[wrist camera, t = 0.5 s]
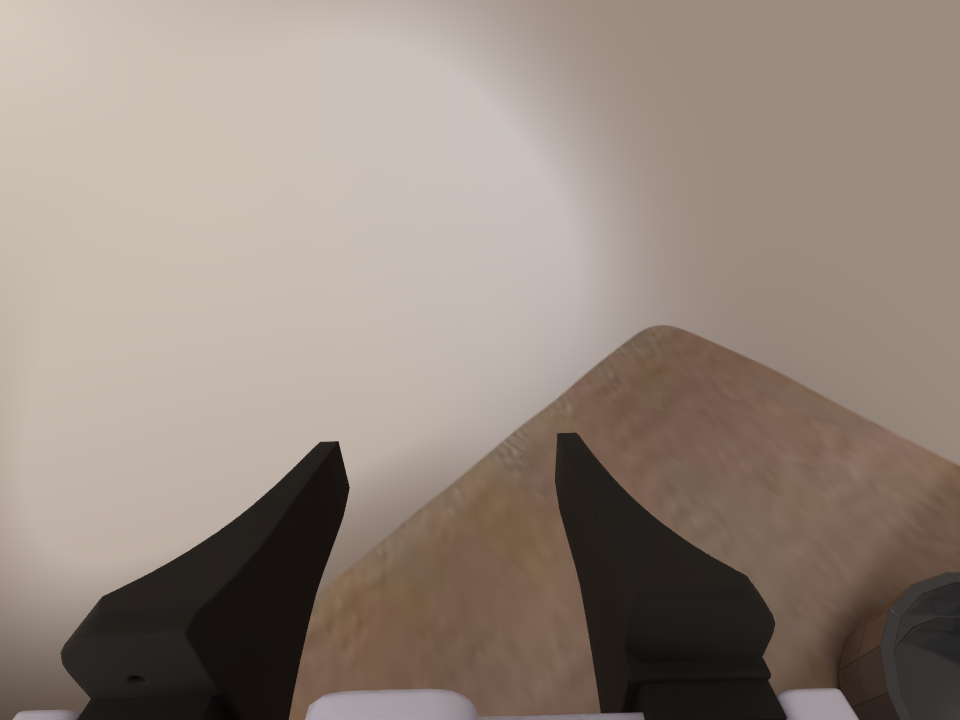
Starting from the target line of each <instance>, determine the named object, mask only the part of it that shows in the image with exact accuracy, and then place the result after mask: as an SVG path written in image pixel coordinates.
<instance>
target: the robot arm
mask: <svg viewBox="0 0 960 720" xmlns="http://www.w3.org/2000/svg"><path fill="white" fill-rule="evenodd" d="M555 484H556V491H557V497H558V503H559V509H560V513H561V517H562V520H563V524H564V528H565V531H566V535H567V538H568V542H569V545H570V549H571V553H572V556H573V560H574V563H575V567H576V570H577V574H578V578H579V583H580V587H581V593H582V598H583V604H584V610H585V615H586V621H587V627H588V633H589V639H590V645H591V651H592V657H593V664H594V670H595V677H596V683H597V689H598V696H599V703H600V710H601V714H566V715H530V716H494V717H478V713H477V710H476V708H475V707H474V705H473V704H472V702H471V701H470V700H469V699H468V698H467V697H465V696H463V695H461V694H459V693H457V692H455V691H451V690H442V689H404V690H369V691H341V692H336V693H330V694H325V695H324V696H322V697H321V698H319V699H318V700H316V701H315V702H314V703H312V704H311V705H309V708H308V712H307V715H306V719H305V720H859V719H858V717H857V716H856V714H855V713H854V711H853V709H852V708H851V706H850V705H849V703H848V702H847V700H846V698H845V697H844V695H843V694H842V692H841V691H840V690H838V689H836V688H816V689H791V690H785V691H783V692H780V693H778V694H777V695H775V693H774V691H773V689H772V687H771V685H770V683H769V681H768V679H770V677H771V674H770V671H769V669H768V667H767V665H766V663H765V661H764V659H763V657H762V656H763V654H764V652H765V650H766V648H767V646H768V643H769V641H770V639H771V637H772V635H773V632H774V627H775V621H774V617H773V615H772V613H771V612H770V610H769V608H768V606H767V605H766V603H765V601H764V600H763V598H762V597H761V595H760V594H759V592H758V591H757V589H756V588H755V587H754V585H753V584H752V583H751V581H750V580H749V578H748V577H747V576H746V575H744V574H742V573H740V572H739V571H737V570H735V569H733V568H731V567H729V566H728V565H726V564H724V563H722V562H720V561H718V560H717V559H715V558H713V557H711V556H710V555H708V554H706V553H705V552H703V551H702V550H700V549H698V548H697V547H695V546H694V545H692V544H690V543H689V542H688V541H686V540H685V539H683V538H682V537H680V536H679V535H677V534H676V533H675V532H673V531H672V530H671V529H669V528H668V527H666V526H665V525H664V524H662V523H661V522H660V521H659V520H657V519H656V518H655V517H654V516H652V515H651V514H650V513H649V512H648V511H647V510H645V509H644V508H643V507H642V506H641V505H640V504H639V503H638V502H636V501H635V500H634V499H633V498H632V497H631V496H630V495H629V494H628V493H627V492H626V491H625V490H624V489H623V488H622V487H621V486H620V485H619V484H618V482H617V481H616V480H615V479H614V478H613V477H612V476H611V475H610V474H609V472H608V471H607V470H606V469H605V468H604V467H603V466H602V464H601V463H600V462H599V461H598V460H597V458H596V457H595V456H594V455H593V453H592V452H591V451H590V449H589V448H588V447H587V446H586V444H585V443H584V441H583V440H582V439H581V437H580V436H579V435H578V434H577V433H557V452H556V471H555ZM349 488H350V487H349V483H348V479H347V475H346V471H345V466H344V463H343V458H342V454H341V450H340V446H339V442H338V441H334V442H320V443H319V444H318V445H317V446H315V447H314V448H313V449H312V450H311V451H310V452H309V453H308V454H307V455H306V456H305V457H304V458H303V459H302V460H301V461H300V462H299V463H298V464H297V465H296V466H295V467H294V468H293V469H292V470H291V471H290V472H289V473H288V474H287V475H286V476H285V477H284V478H283V479H282V480H281V481H279V483H277V484H276V485H275V486H274V487H273V488H272V489H271V490H269V491H268V492H267V493H266V494H265V495H264V496H263V497H262V498H260V499H259V500H258V501H257V502H256V503H255V504H254V505H252V506H251V507H250V508H249V509H248V510H246V511H245V512H244V513H242V514H241V515H240V516H239V517H237V518H236V519H235V520H233V521H232V522H231V523H229V524H228V525H227V526H225V527H224V528H222V529H221V530H220V531H219V532H217V533H215V534H214V535H212V536H211V537H209V538H208V539H206V540H205V541H203V542H202V543H200V544H199V545H197V546H196V547H194V548H192V549H191V550H189V551H188V552H186V553H184V554H183V555H181V556H179V557H178V558H176V559H174V560H173V561H171V562H169V563H167V564H166V565H164V566H162V567H160V568H158V569H157V570H155V571H153V572H151V573H149V574H147V575H145V576H144V577H142V578H140V579H137V580H135V581H133V582H131V583H130V584H127V585H125V586H123V587H121V588H120V589H117V590H115V591H113V592H111V593H109V594H107V595H105V596H103V597H102V598H101V599H100V600H99V601H98V603H97V604H96V605H95V606H94V608H93V609H92V610H91V612H90V613H89V614H88V615H87V617H86V618H85V619H84V620H83V622H82V623H81V624H80V626H79V627H78V628H77V629H76V631H75V632H74V633H73V635H72V636H71V637H70V638H69V640H68V641H67V642H66V643H65V645H64V647H63V649H62V651H61V658H62V664H63V666H64V667H65V669H66V670H67V672H68V673H69V674H70V675H71V676H72V677H73V679H74V680H75V681H76V682H77V683H78V684H79V686H80V687H81V688H82V689H83V690H84V691H85V692H86V694H87V695H88V696H89V697H90V698H91V700H90V701H89V703H88V704H87V706H86V707H85V709H84V711H83V712H82V713H81V714H79V713H77V712H74V711H70V710H41V711H40V710H39V711H38V710H37V711H22V712H20V713H18V714H17V715H16V716H15V718H14V719H13V720H289V715H290V709H291V704H292V698H293V693H294V688H295V683H296V679H297V674H298V669H299V664H300V659H301V655H302V650H303V646H304V642H305V637H306V633H307V629H308V624H309V620H310V616H311V612H312V608H313V604H314V600H315V596H316V593H317V590H318V586H319V583H320V580H321V577H322V575H323V572H324V569H325V566H326V563H327V561H328V558H329V555H330V552H331V550H332V547H333V544H334V542H335V539H336V536H337V533H338V530H339V528H340V525H341V522H342V519H343V516H344V511H345V507H346V503H347V498H348V493H349Z"/></svg>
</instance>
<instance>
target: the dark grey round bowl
mask: <svg viewBox="0 0 960 720" xmlns="http://www.w3.org/2000/svg"><path fill="white" fill-rule="evenodd" d="M839 680H840V689H841V692H842V694H843V695H844V697H845V698H846V700H847V702H848V703H849V705H850V706H851V708H852V709H853V711H854V713H855V714H856V716H857V717H858V719H859V720H960V572H947V573H943V574H940V575H937V576H934V577H932V578H929V579H926V580H923V581H921V582H918V583H915V584H912V585H911V586H909V587H908V588H906V589H905V590H904V591H902V592H901V593H900V594H898V595H897V596H895V597H894V598H893V599H891V600H890V601H888V602H887V603H886V604H884V605H883V606H882V607H880V608H879V609H877V610H876V611H875V612H873V613H872V614H870V615H869V616H868V617H866V618H865V620H864V621H863V622H862V623H861V624H860V625H859V626H858V627H857V628H856V629H855V630H854V631H853V632H852V633H851V634H850V636H849V637H848V638H847V640H846V644H845V647H844V651H843V654H842V658H841V662H840V665H839Z"/></svg>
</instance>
